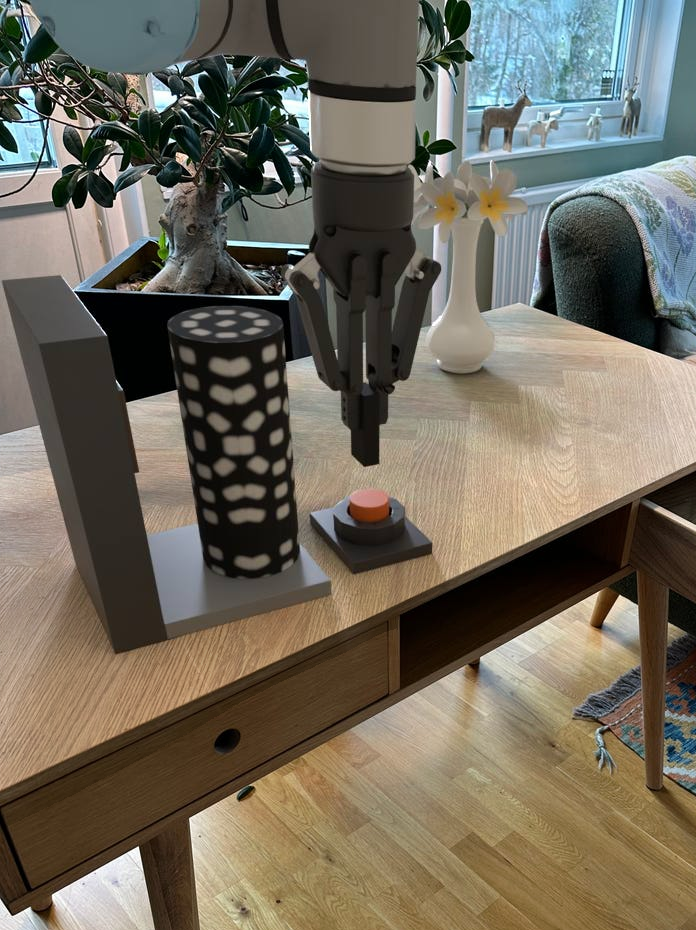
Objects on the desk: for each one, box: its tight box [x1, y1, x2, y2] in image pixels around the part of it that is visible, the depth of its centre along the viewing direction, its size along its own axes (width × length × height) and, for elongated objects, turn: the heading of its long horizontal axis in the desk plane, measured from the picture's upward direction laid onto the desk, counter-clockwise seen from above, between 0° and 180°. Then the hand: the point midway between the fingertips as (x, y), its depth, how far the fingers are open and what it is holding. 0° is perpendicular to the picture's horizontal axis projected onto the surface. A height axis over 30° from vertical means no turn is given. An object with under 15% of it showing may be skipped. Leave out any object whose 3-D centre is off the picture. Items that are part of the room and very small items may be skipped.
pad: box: [309, 496, 434, 575], centre depth 82 cm, size 10×8×3 cm
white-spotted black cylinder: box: [166, 305, 301, 579], centre depth 71 cm, size 8×8×20 cm
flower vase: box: [407, 160, 528, 374], centre depth 113 cm, size 13×18×25 cm
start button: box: [349, 488, 390, 522], centre depth 81 cm, size 4×4×2 cm
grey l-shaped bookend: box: [1, 274, 333, 654], centre depth 69 cm, size 14×18×24 cm
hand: (365, 459), depth 78 cm, fingers closed
